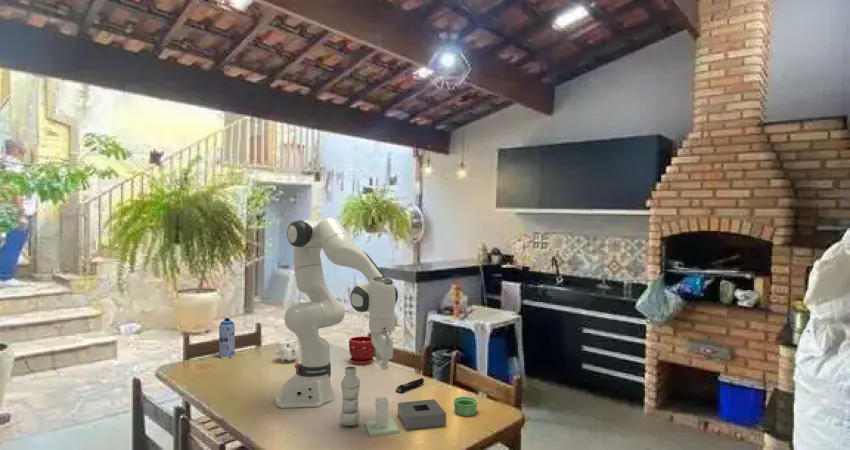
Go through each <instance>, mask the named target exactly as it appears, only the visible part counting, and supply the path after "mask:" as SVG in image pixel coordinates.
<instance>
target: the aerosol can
mask: <svg viewBox="0 0 850 450" xmlns="http://www.w3.org/2000/svg"><path fill="white" fill-rule="evenodd" d="M235 328H236V325H235V322H234V321H232V320H231V319H230V317H225V318H224V319H223V321H221V322H220V323H219V328H218V330H219V331H218V332H219V333H218V335H219V336H218V337H219V338H218V339H219V344H218V345H219V346H218V347H219V349H218V350H219V353H218V355H219V356H220V357H232V356H235V357H236V352H235V351H236V347H235V346H236V344H235V342H236V338H235V337H236V336H235V335H236V334H235V333H236V329H235ZM219 356H218V357H219ZM232 358H233V357H232Z"/></svg>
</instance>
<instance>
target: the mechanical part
mask: <svg viewBox="0 0 850 450" xmlns="http://www.w3.org/2000/svg"><path fill="white" fill-rule="evenodd" d="M275 355H277V356H279V359H281V361H282V363H284V362H285V360H287V361H288V362H289V363H291V361H294V360H296V359H298V358H299V356H300V355H301V346H300V345H299V339H294V337H293V336H290V337H287V338H286V337H285V339H284V340H282V341H279V342H277V348H276V350H275Z"/></svg>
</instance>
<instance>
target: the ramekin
mask: <svg viewBox="0 0 850 450" xmlns="http://www.w3.org/2000/svg"><path fill="white" fill-rule="evenodd" d="M478 402H479V401H478V400H477V399H476V398H474V397H470V396H459V397H455V398H454V399H453V406H454V407H453V408H454V413H455V415H458V416H462V417H470V416H474V415H475V414H477V409H478V408H477V406H478Z"/></svg>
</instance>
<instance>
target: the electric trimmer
mask: <svg viewBox="0 0 850 450" xmlns="http://www.w3.org/2000/svg"><path fill="white" fill-rule="evenodd" d="M424 380H425V379H424V378H423V377H421V378H418V379H416V380H411V381H410V382H407V383H404V384H400V385H398V386H397V387H396V388H395V393H397V394H402V395H403V394H404V392H407V391H409V390H411V389H416V388H417V387H421V386H422V385H423V384H424V382H425V381H424Z"/></svg>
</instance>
